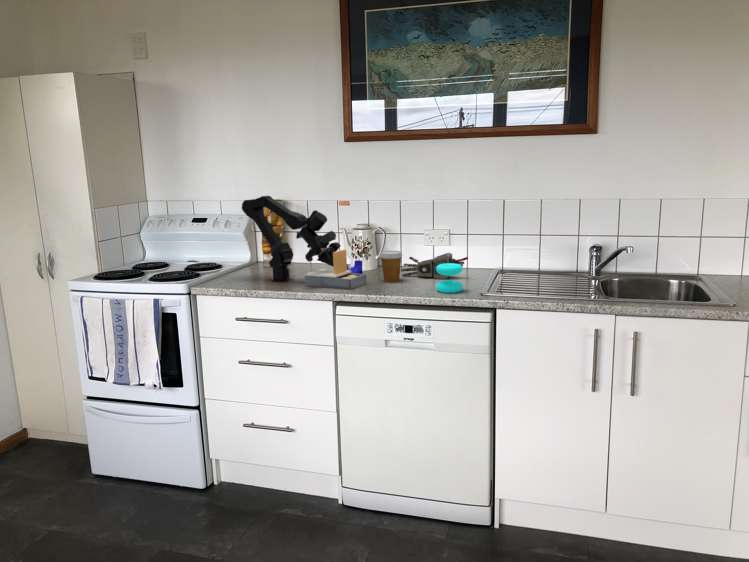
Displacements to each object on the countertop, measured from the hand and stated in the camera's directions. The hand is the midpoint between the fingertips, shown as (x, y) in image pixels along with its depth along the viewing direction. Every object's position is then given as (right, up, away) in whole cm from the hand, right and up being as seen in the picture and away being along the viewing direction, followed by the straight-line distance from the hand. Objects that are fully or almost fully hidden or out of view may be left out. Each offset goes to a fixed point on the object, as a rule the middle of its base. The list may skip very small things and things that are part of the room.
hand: (336, 266), depth 241 cm
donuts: (+44, -10, -16) cm, 48 cm away
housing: (0, -7, +2) cm, 8 cm away
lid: (-3, -3, +2) cm, 5 cm away
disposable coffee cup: (+23, -6, +7) cm, 24 cm away
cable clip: (+5, -4, +21) cm, 22 cm away
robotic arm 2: (+41, -5, +11) cm, 42 cm away
